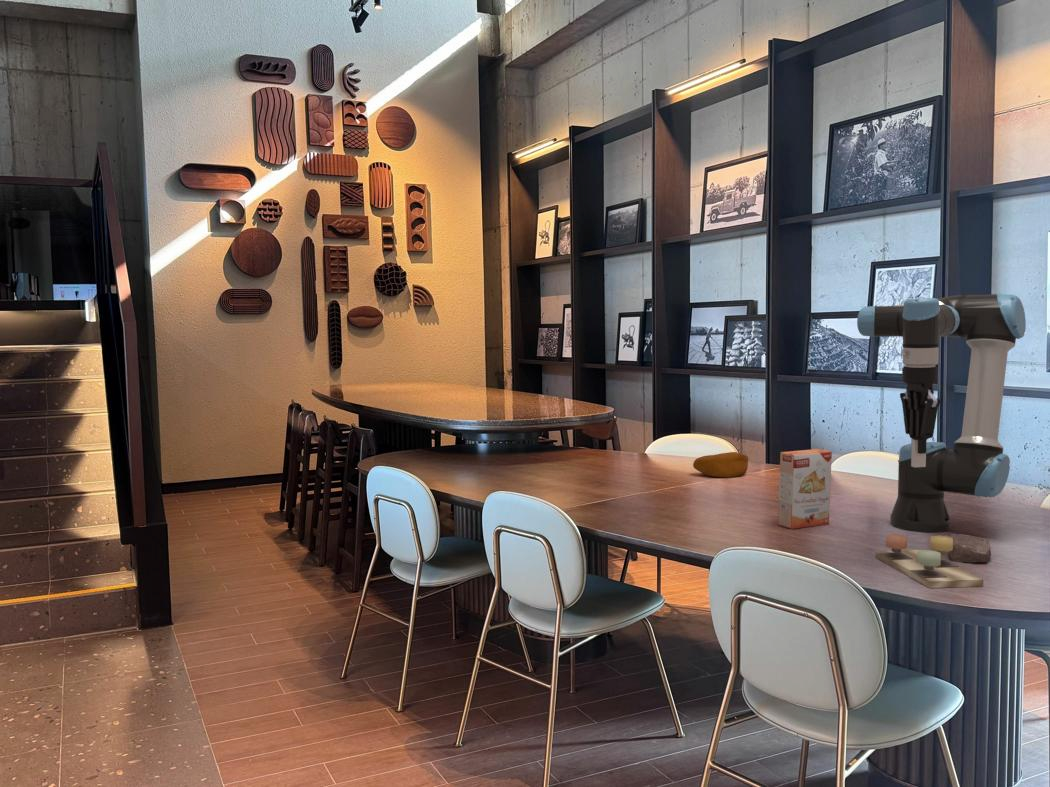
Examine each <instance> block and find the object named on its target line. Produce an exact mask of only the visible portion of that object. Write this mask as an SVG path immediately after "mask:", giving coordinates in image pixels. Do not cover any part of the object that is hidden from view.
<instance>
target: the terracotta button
mask: <svg viewBox="0 0 1050 787" xmlns="http://www.w3.org/2000/svg"><path fill="white" fill-rule="evenodd" d="M885 540H886V541H885V547H887V548H889V549H891V551H892V552H896V553H900V552H901V550H907V548H908V536H907V535H904V534H898V533H896V534H894V533H891V534H886V536H885Z"/></svg>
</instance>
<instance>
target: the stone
mask: <svg viewBox="0 0 1050 787" xmlns="http://www.w3.org/2000/svg"><path fill="white" fill-rule="evenodd" d="M949 537H950V538H952V539H953V550H952V551H948V552H949V557H950V560H951V561H952V562H955V563H956V562H957V563H988V562H989V561H990V560H991V556H992V550H991V543H990V540H989V539H988V538H986V537H978V536H973V535H967V534H962V533H959V534H958V533H953V534H952V535H951V536H949Z"/></svg>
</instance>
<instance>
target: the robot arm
mask: <svg viewBox="0 0 1050 787" xmlns="http://www.w3.org/2000/svg"><path fill="white" fill-rule="evenodd" d="M856 320H857V321H856V323H857V330H858V333H859V334H860V335H861V336H864V337H872V338H875V337H879V338H880V337H881V338H883V337H884V338H885V337H892V338H893V337H894V338H895V337H896V338H898V337H901V338H902V353H901V355H902V364H903V365H904V366H903V367H902V368H901V381H902V382H903V383H904V384H907V385H906V388H905V390H906V391H905V392H900V394H899V398H900V401H901V404H902V405H901V406H902V412H903V413H902V414H903V422H904V423H903V424H904V431H905V432H904V433H905V434H906V435H909V438H910V440H911V443H907V444H904V445H902V446H901V447H900V449H899V453H898V454H899V455H898V460H897V462H898V470H897V472H898V474H897V475H898V477H897V478H898V479H897V498H896V501H895V502H894V506H893V509H892V511H891V513H890V519H889V520H890V521H889V524H890V525H891V526H893V527H894V528H895V527H896V528H898V529H902V530H907V531H913V532H924V533H926V532H927V533H936V532H939V533H940V532H946V531H948V530H950V529H951V519H950V515H949V512H948V508H947V505H946V503H945V493H951V494H960V495H967V496H975V497H979V498H980V497H984V498H993V497H997V496H998V495H1000V494H1001V492H1003V490H1004V488H1005V486H1006V485H1007V482H1008V479H1009V475H1010V474H1009V473H1010V470H1011V469H1010V468H1011V467H1010V464H1011V461H1010V460H1011V459H1010V457H1009V455H1007V454H1005V453H1004V446H1003V445H1002V444H1001V443H1000V442H999V440H998V439H999V432H1000V424H1001V423H1000V422H1001V414H1002V406H1003V397H1004V396H1003V395H1004V390H1005V389H1004V388H1005V379H1006V371H1007V361H1008V353H1009V351H1010V350H1012V349H1013V348H1015V347H1016V342H1017V340H1019V339H1020V340H1021V338H1023V337H1024V336H1025V333H1026V325H1027V322H1026V321H1027V320H1026V313H1025V308H1024V304H1023V302H1022V300H1021V299H1020V298H1019V297H1018V296H1017V295H1015V294H1005V293H1004V294H1002V293H994V294H993V293H992V294H989V293H988V294H967V295H966V294H959V295H958V294H957V295H956V294H955V295H950V296H945V297H940V298H939V297H938V298H935V297H928V298H927V297H926V298H925V297H920V298H917V297H916V298H907V299H905V300H904V302H903V304H899V305H872V306H864V307H862V308H861V309H860V310H859V312H858V314H857V319H856ZM945 337H950V338H951V337H952V338H965V340H966V342H965V343H966V344H967V346H968V347H969V348H970V349H971V351H970V352H971V353H970V360H969V368H968V369H969V370H968V377H967V386H966V394H965V395H966V396H965V402H964V403H965V404H964V411H963V412H964V413H963V418H962V419H963V421H962V430H961V435H960V437H959V438H958V439H957V440H955V441H954V443H953V444H954V445H953V449H951V448H947V445H946V442H941V441H928V440H929V439H932V438H934V432H935V427H936V421H937V415H938V408H939V406H940V404H941V399H940V397H939V398H936V397H935V396H934V393H935V391H934V388H933V387H934V386H933V385H934V384H937V383H938V382H939V368H938V367H937V366H938V364H939V356H940V355H939V352H940V351H939V343H940V339H939V338H945ZM936 365H937V366H936ZM927 441H928V442H927Z"/></svg>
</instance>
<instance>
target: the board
mask: <svg viewBox="0 0 1050 787" xmlns="http://www.w3.org/2000/svg"><path fill="white" fill-rule="evenodd" d="M919 550H920V549H901V552H900V553H896V552H892V550H875V558H876V559H878V560H880V561H881V562H884V563H885V564H887V565H888V566H890V567H892V568H893V569H896V570H897V571H899V572H901V573H902V574H904V575H906V576H908V577H910V578H911V579H913V580H914V581H917V582H919V583H920V584H921V585H923V586H926V587H927V588H929V589H943V588H944V589H945V588H946V589H947V588H971V587H972V588H974V587H975V588H976V587H984V579H983V578H981V577H980V576H978V575H975V574H973V573H972V572H969V571H967V570H965V569H963V568H961V567H960V565H958V564H956V563H954V562H953V561H952V562H951V561H950V560H948V559H945V558H944V559H943V558H941V565H940V566H934V570H926V569H924V565H921V564H919V563H918V551H919ZM921 550H924V549H922V548H921Z"/></svg>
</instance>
